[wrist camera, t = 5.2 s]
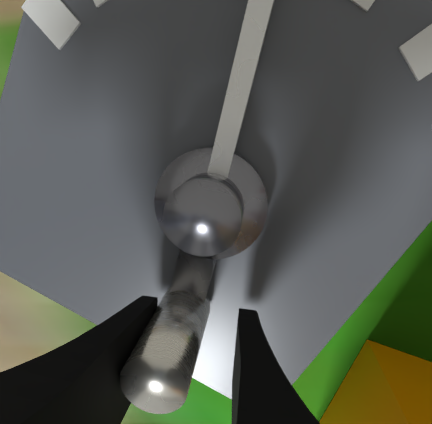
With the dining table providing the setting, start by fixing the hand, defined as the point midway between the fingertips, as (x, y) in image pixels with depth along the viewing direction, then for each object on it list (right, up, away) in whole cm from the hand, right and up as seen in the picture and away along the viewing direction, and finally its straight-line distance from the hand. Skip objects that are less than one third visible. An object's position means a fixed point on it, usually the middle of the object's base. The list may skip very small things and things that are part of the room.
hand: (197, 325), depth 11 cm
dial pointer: (+1, +6, -1) cm, 6 cm away
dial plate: (+1, +7, +2) cm, 7 cm away
